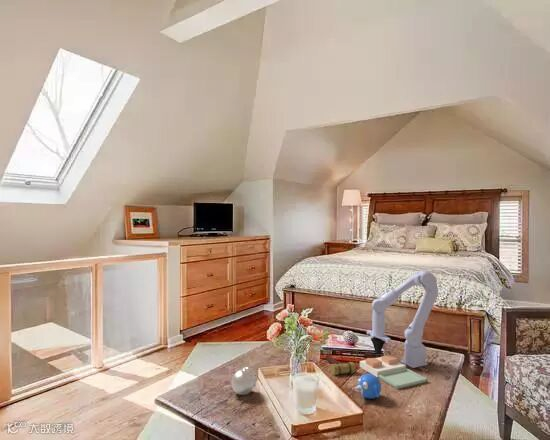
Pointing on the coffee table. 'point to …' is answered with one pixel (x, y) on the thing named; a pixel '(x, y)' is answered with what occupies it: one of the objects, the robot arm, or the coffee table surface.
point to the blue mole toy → (368, 386)
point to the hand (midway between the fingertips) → (378, 353)
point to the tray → (402, 378)
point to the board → (383, 368)
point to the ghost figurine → (243, 381)
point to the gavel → (340, 366)
